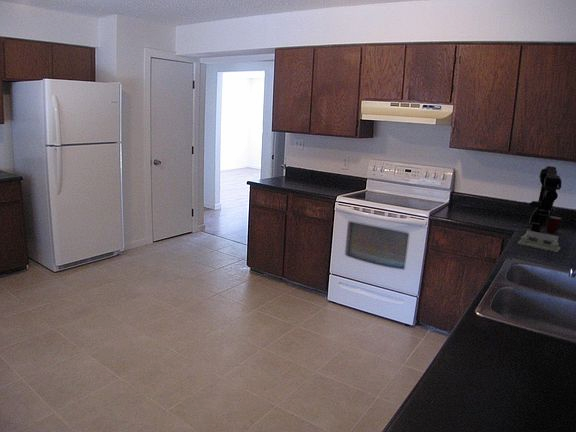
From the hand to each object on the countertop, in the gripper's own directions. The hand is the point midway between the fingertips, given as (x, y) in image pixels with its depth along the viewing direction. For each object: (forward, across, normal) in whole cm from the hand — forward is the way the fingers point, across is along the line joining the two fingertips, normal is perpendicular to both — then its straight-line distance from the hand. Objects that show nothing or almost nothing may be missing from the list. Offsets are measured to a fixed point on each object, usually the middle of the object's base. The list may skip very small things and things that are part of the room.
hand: (542, 224), depth 264 cm
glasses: (+7, +5, +1) cm, 9 cm away
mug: (+12, -43, -1) cm, 45 cm away
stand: (+11, +5, +1) cm, 13 cm away
